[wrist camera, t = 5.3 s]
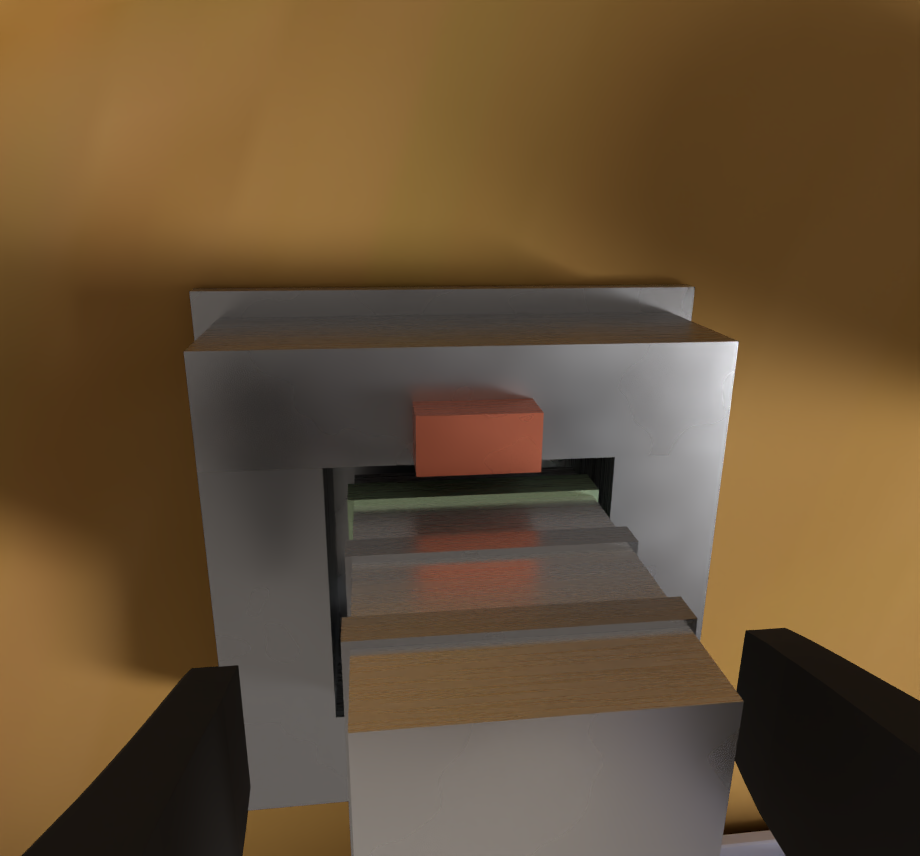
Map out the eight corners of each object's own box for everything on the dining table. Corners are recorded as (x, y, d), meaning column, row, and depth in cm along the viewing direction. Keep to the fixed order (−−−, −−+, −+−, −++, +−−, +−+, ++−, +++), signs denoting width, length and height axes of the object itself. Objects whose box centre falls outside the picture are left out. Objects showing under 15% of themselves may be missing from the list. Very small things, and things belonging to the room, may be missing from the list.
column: (577, 461, 14) (754, 693, 8) (564, 653, 15) (707, 985, 9) (348, 469, 13) (336, 724, 7) (356, 668, 15) (353, 1030, 8)
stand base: (686, 284, 16) (797, 320, 12) (645, 683, 19) (721, 819, 15) (193, 288, 14) (129, 329, 10) (237, 715, 17) (202, 870, 14)
